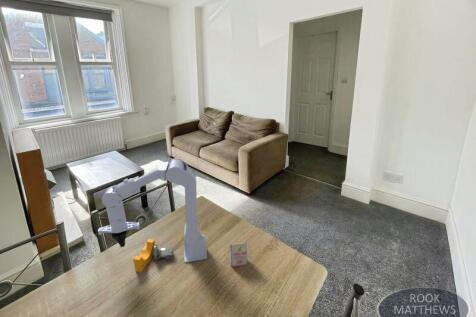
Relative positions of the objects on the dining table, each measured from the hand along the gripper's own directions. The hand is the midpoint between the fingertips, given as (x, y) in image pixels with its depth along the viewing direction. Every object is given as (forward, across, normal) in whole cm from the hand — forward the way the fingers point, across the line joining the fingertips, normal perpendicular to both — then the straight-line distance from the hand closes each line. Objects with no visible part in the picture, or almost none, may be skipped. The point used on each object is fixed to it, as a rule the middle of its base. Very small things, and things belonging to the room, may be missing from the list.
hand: (123, 245), depth 97 cm
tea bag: (+9, -46, +11) cm, 48 cm away
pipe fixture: (+9, -16, 0) cm, 18 cm away
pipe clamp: (+10, -7, 0) cm, 12 cm away
